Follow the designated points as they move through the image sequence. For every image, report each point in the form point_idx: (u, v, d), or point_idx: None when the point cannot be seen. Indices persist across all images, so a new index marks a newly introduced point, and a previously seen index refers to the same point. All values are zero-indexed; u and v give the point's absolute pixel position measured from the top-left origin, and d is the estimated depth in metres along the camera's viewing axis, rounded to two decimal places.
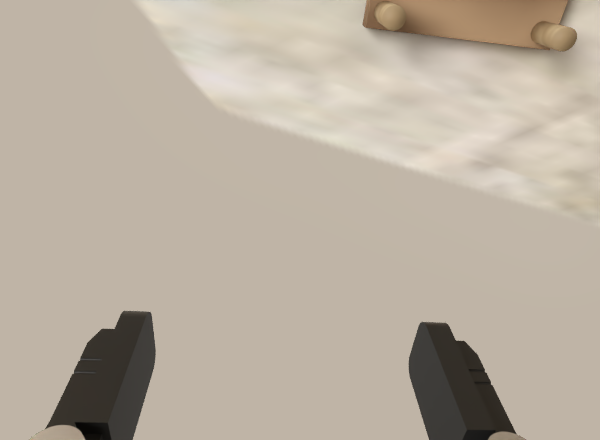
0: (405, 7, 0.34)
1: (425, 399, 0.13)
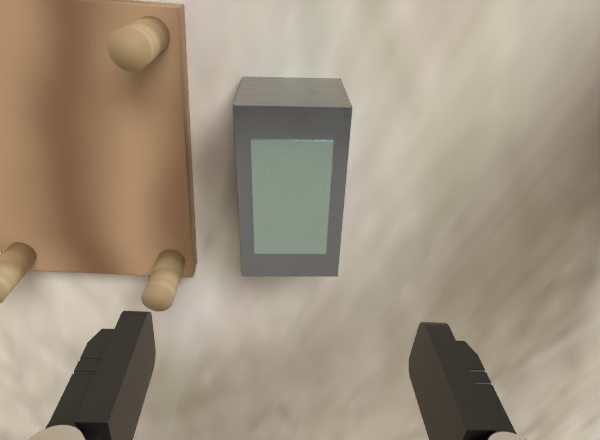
0: None
1: (425, 399, 0.13)
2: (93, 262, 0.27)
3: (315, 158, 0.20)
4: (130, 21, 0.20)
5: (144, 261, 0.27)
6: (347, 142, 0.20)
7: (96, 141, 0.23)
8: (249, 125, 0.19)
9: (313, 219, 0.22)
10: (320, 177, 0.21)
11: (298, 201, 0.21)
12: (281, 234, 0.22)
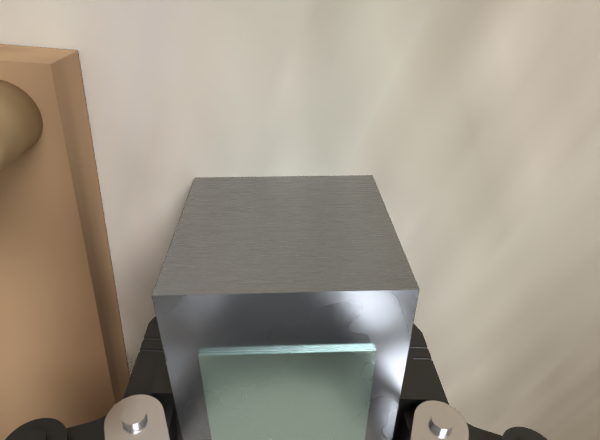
0: None
1: None
2: None
3: (337, 378, 0.10)
4: None
5: None
6: (405, 348, 0.09)
7: None
8: (193, 327, 0.09)
9: None
10: (346, 403, 0.10)
11: (302, 439, 0.11)
12: None
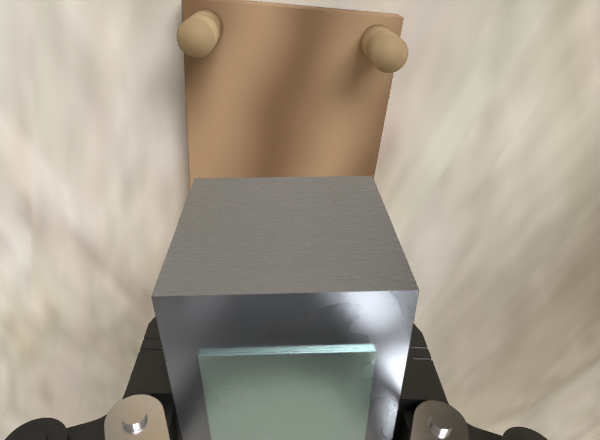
0: (217, 59, 0.23)
1: None
2: None
3: (337, 379, 0.10)
4: (360, 28, 0.23)
5: None
6: (404, 349, 0.09)
7: (303, 134, 0.26)
8: (193, 328, 0.09)
9: None
10: (346, 403, 0.10)
11: None
12: None
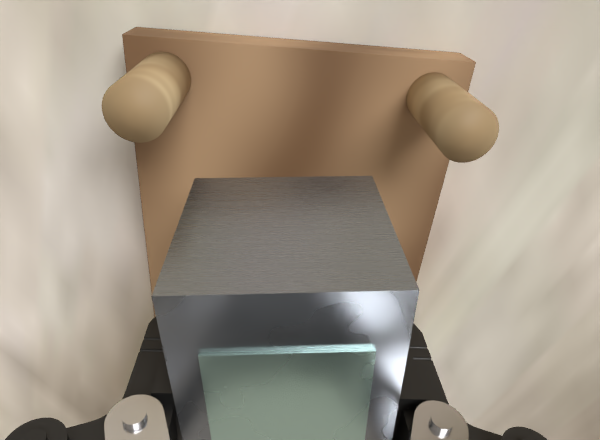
0: (184, 125, 0.15)
1: None
2: None
3: (337, 379, 0.10)
4: (407, 79, 0.15)
5: None
6: (405, 349, 0.09)
7: None
8: (193, 328, 0.09)
9: None
10: (346, 403, 0.10)
11: (302, 439, 0.11)
12: None
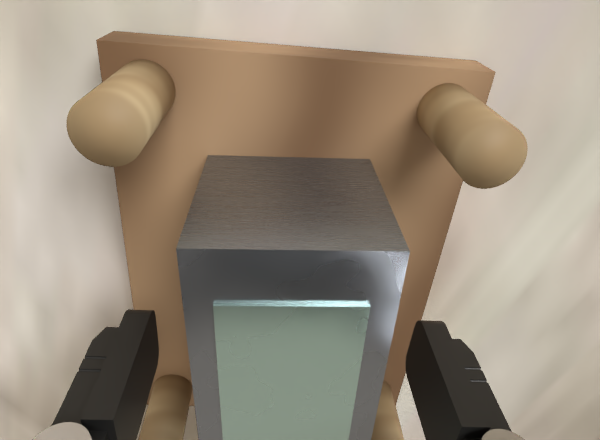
0: (168, 141, 0.13)
1: (421, 397, 0.13)
2: None
3: (334, 332, 0.11)
4: (418, 90, 0.13)
5: None
6: (395, 306, 0.11)
7: None
8: (210, 280, 0.10)
9: (326, 415, 0.12)
10: (341, 356, 0.11)
11: (300, 391, 0.12)
12: (269, 436, 0.13)
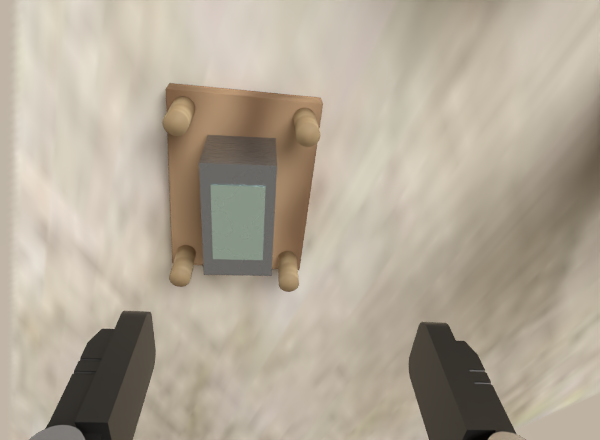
0: (191, 128, 0.33)
1: (425, 399, 0.13)
2: None
3: (253, 197, 0.30)
4: (292, 110, 0.32)
5: None
6: (274, 187, 0.30)
7: None
8: (209, 175, 0.29)
9: (253, 236, 0.32)
10: (257, 209, 0.31)
11: (242, 224, 0.31)
12: (231, 246, 0.32)
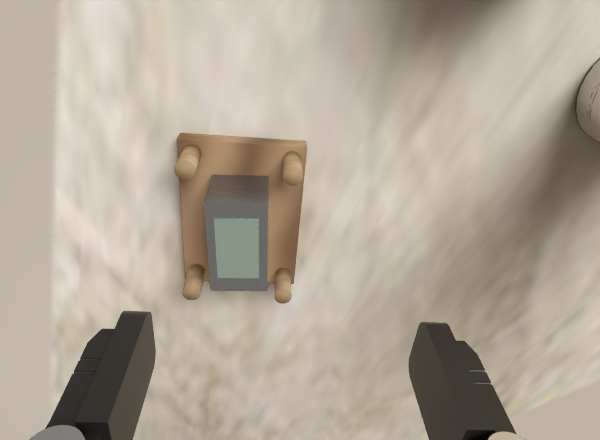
0: (198, 170, 0.39)
1: (425, 399, 0.13)
2: None
3: (249, 228, 0.37)
4: (282, 153, 0.39)
5: None
6: (266, 219, 0.37)
7: None
8: (213, 211, 0.36)
9: (250, 259, 0.38)
10: (253, 237, 0.37)
11: (241, 250, 0.38)
12: (232, 267, 0.39)
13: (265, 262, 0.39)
